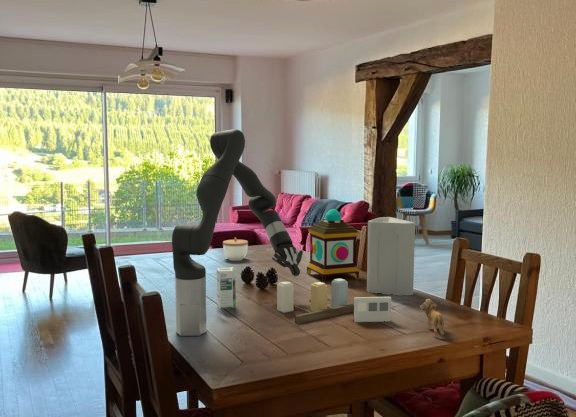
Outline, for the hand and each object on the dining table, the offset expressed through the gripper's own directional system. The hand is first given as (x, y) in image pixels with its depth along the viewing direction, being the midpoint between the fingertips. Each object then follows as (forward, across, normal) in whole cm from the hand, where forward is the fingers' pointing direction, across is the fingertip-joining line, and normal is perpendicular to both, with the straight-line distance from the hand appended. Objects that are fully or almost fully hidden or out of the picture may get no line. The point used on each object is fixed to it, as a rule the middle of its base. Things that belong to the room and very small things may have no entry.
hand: (297, 274), depth 200 cm
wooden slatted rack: (+15, 0, +1) cm, 15 cm away
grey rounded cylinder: (+16, +9, -2) cm, 19 cm away
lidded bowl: (-52, +22, +69) cm, 89 cm away
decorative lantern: (-12, +39, +29) cm, 50 cm away
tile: (+28, +10, -12) cm, 32 cm away
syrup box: (+1, -23, +15) cm, 28 cm away
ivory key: (+11, -9, +3) cm, 15 cm away
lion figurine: (+41, +19, -25) cm, 51 cm away
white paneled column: (+9, +42, +7) cm, 43 cm away
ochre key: (+16, 0, -2) cm, 16 cm away
